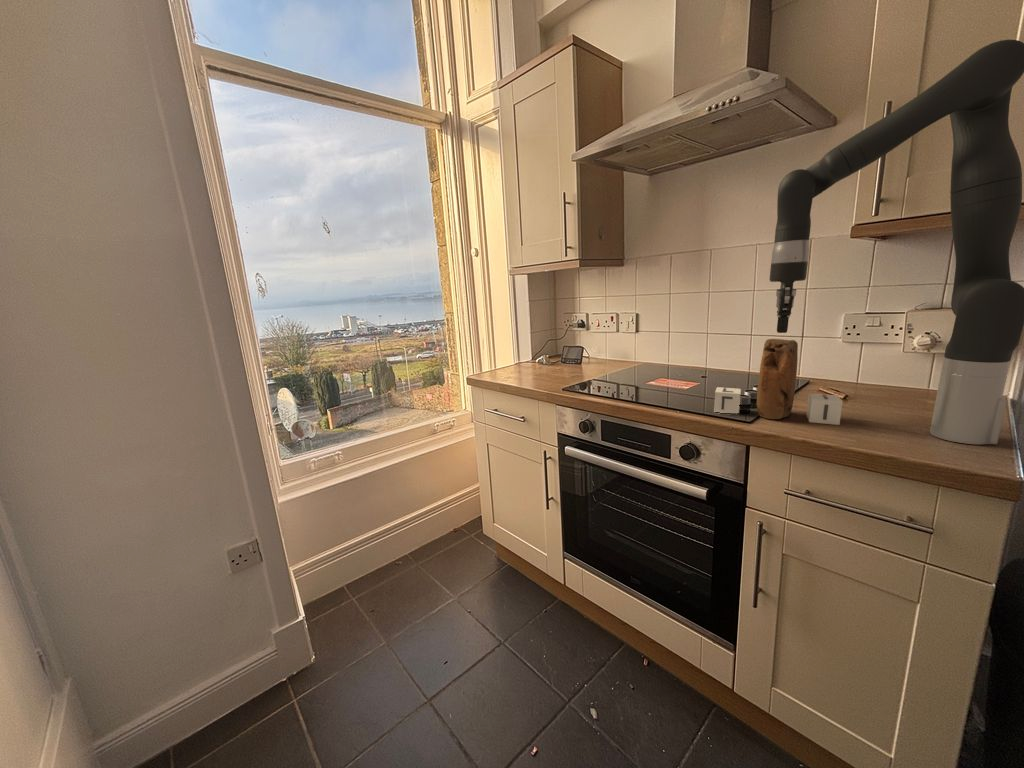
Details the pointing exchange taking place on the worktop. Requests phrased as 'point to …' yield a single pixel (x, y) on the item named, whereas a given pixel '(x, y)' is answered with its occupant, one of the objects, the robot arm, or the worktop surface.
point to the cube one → (824, 409)
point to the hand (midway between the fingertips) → (781, 332)
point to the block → (777, 378)
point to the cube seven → (727, 400)
